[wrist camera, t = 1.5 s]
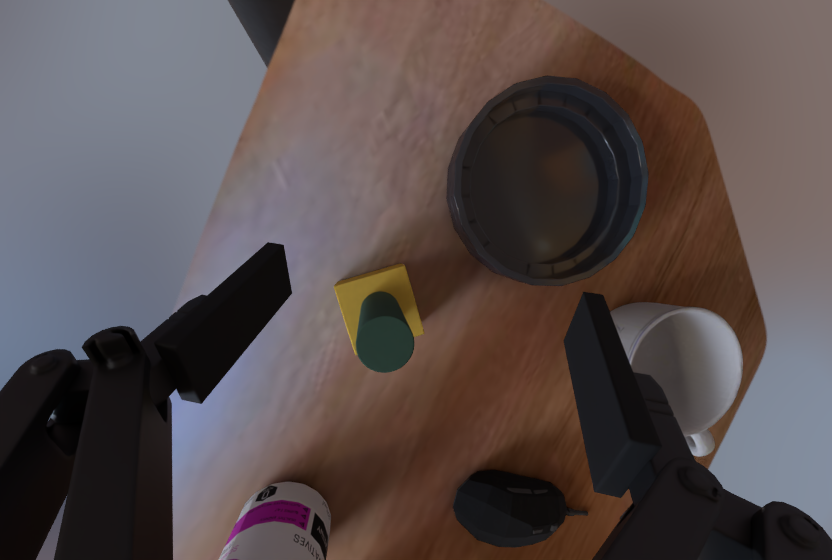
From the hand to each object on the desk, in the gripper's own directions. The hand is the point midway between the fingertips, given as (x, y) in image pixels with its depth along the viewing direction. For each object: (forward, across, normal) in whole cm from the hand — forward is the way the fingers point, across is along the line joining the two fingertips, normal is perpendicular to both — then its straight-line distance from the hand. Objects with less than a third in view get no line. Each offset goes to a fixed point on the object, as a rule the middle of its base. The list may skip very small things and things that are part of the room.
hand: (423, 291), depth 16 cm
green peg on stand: (+12, -6, -11) cm, 17 cm away
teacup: (+17, +19, -17) cm, 30 cm away
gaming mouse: (+7, +11, -30) cm, 32 cm away
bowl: (+21, +7, -2) cm, 23 cm away
